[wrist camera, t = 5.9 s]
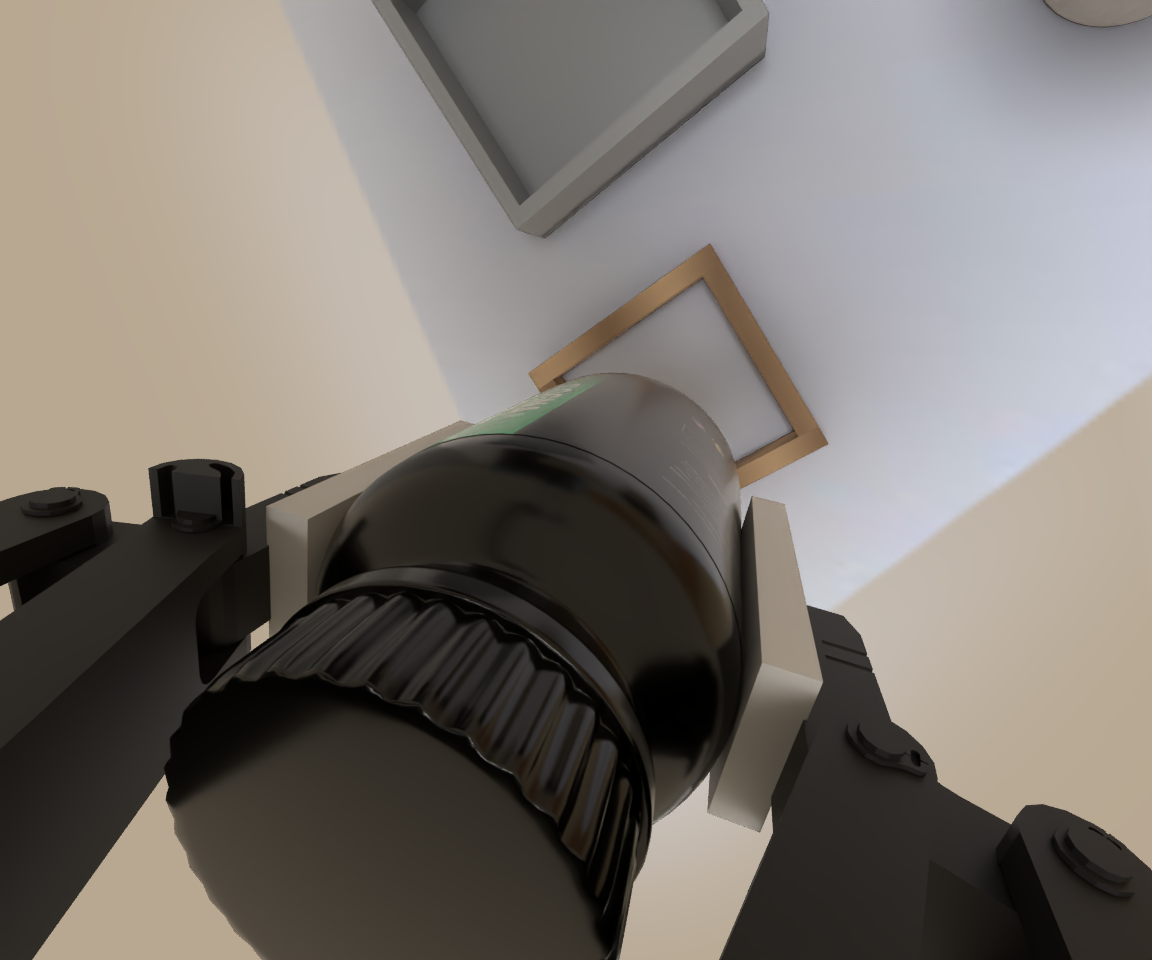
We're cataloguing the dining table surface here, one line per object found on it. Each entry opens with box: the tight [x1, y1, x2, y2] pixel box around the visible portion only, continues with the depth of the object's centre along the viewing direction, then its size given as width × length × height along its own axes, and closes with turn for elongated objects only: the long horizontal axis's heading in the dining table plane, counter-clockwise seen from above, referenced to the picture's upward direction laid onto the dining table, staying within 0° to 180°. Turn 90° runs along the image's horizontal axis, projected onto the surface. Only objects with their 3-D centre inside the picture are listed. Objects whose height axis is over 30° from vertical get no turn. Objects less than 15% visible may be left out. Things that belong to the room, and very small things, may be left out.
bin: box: [371, 0, 769, 238], centre depth 24 cm, size 12×12×4 cm
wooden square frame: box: [528, 244, 828, 489], centre depth 29 cm, size 11×11×2 cm
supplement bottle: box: [164, 373, 742, 960], centre depth 11 cm, size 7×7×12 cm
